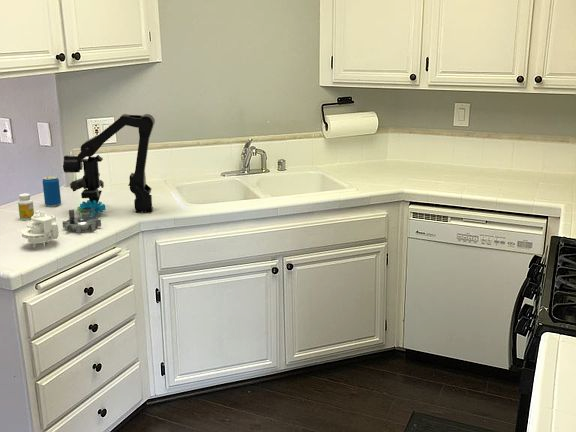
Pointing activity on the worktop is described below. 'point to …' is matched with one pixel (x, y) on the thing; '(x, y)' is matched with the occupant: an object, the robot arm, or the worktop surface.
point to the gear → (91, 207)
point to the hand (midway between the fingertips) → (94, 209)
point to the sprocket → (81, 223)
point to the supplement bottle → (25, 207)
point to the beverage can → (51, 191)
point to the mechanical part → (41, 229)
